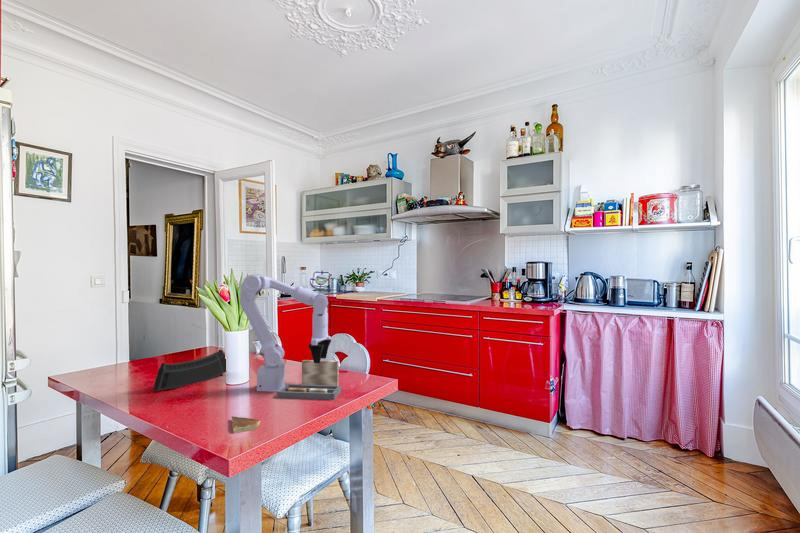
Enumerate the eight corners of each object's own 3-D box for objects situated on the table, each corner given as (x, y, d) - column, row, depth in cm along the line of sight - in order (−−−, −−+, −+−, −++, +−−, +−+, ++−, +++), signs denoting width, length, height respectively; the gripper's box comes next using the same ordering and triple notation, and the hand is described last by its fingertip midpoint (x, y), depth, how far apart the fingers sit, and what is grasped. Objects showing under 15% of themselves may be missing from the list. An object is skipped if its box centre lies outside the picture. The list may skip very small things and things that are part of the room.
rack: (277, 399, 132) (277, 392, 132) (288, 390, 142) (288, 383, 142) (333, 401, 130) (333, 394, 130) (341, 392, 140) (341, 385, 140)
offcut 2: (308, 397, 133) (308, 390, 133) (310, 395, 135) (310, 388, 135) (325, 397, 132) (325, 390, 132) (327, 395, 134) (327, 388, 134)
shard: (231, 421, 114) (231, 415, 114) (258, 417, 118) (258, 411, 118) (232, 435, 105) (232, 428, 105) (261, 430, 108) (261, 424, 108)
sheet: (301, 386, 147) (301, 360, 147) (303, 385, 148) (303, 359, 148) (337, 388, 145) (337, 361, 145) (338, 386, 147) (338, 360, 147)
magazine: (150, 370, 136) (222, 334, 161) (145, 369, 138) (217, 334, 163) (164, 412, 141) (233, 370, 166) (159, 410, 142) (228, 370, 167)
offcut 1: (288, 396, 133) (288, 389, 133) (290, 394, 135) (290, 387, 135) (304, 397, 133) (304, 389, 133) (306, 395, 135) (306, 388, 135)
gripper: (324, 328, 139) (324, 365, 139) (335, 322, 154) (335, 356, 154) (305, 327, 140) (305, 365, 140) (318, 322, 155) (318, 356, 154)
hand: (320, 360), depth 147 cm, fingers open, 7 cm apart
